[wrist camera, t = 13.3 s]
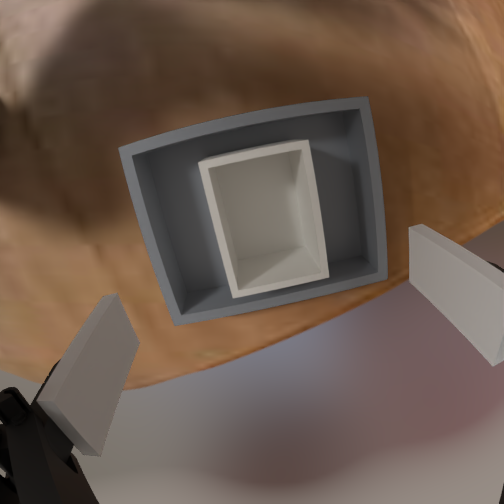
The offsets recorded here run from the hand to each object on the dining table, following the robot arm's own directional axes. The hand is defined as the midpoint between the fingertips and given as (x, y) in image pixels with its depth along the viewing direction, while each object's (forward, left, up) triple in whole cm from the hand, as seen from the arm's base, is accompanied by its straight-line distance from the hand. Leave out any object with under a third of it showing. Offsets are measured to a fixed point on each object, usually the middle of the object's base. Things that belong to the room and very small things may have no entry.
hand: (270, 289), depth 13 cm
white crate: (0, +1, -18) cm, 18 cm away
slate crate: (0, +1, -19) cm, 19 cm away
